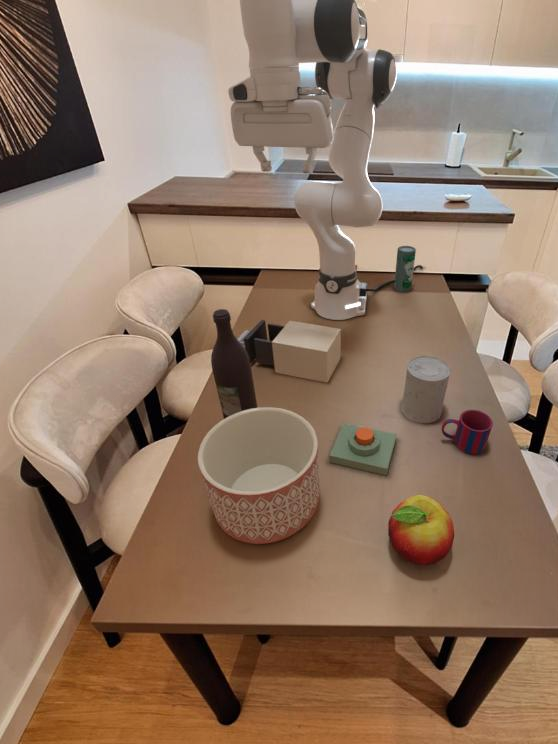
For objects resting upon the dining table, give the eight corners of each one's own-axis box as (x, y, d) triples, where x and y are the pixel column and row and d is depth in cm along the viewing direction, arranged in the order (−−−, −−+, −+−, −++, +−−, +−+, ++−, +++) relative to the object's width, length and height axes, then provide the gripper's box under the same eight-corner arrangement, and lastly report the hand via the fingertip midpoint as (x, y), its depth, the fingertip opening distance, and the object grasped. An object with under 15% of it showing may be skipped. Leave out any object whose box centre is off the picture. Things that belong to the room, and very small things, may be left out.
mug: (486, 456, 84) (494, 433, 80) (438, 449, 86) (443, 426, 81) (484, 434, 89) (491, 412, 85) (439, 427, 91) (444, 405, 87)
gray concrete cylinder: (417, 391, 101) (424, 351, 93) (449, 410, 96) (459, 368, 88) (393, 408, 95) (398, 367, 88) (425, 429, 90) (433, 386, 83)
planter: (330, 533, 69) (330, 478, 60) (216, 562, 65) (196, 507, 56) (308, 453, 84) (305, 399, 75) (213, 472, 79) (197, 417, 70)
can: (408, 293, 146) (413, 252, 137) (392, 290, 148) (396, 250, 138) (412, 287, 150) (417, 247, 141) (396, 284, 152) (400, 244, 143)
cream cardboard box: (275, 372, 106) (271, 342, 100) (291, 350, 115) (289, 320, 109) (327, 382, 103) (327, 351, 97) (340, 358, 112) (340, 328, 106)
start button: (358, 431, 84) (358, 425, 83) (374, 435, 83) (375, 429, 82) (353, 443, 81) (353, 437, 80) (370, 447, 81) (371, 441, 79)
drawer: (233, 360, 108) (228, 335, 103) (250, 341, 116) (247, 317, 111) (294, 372, 105) (292, 347, 100) (308, 351, 112) (307, 327, 108)
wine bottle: (226, 429, 89) (197, 307, 70) (257, 421, 91) (237, 300, 73) (231, 451, 84) (202, 325, 65) (265, 442, 86) (245, 318, 67)
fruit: (457, 573, 64) (469, 539, 58) (390, 578, 63) (396, 544, 57) (440, 515, 73) (449, 480, 66) (381, 518, 72) (385, 483, 66)
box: (343, 429, 90) (343, 416, 87) (395, 441, 87) (397, 427, 85) (329, 462, 82) (329, 449, 79) (386, 475, 80) (388, 462, 77)
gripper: (336, 85, 72) (340, 170, 81) (238, 87, 78) (252, 166, 86) (322, 87, 67) (328, 177, 76) (220, 90, 73) (236, 173, 82)
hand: (287, 172), depth 81 cm, fingers open, 8 cm apart
